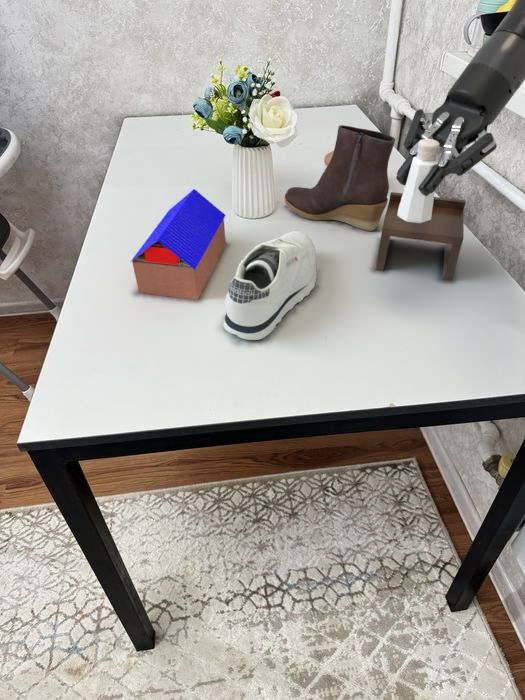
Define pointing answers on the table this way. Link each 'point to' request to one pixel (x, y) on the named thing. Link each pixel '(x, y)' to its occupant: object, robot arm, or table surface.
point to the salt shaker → (412, 200)
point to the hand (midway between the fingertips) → (411, 186)
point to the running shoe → (269, 285)
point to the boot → (349, 181)
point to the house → (181, 249)
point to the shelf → (427, 230)
